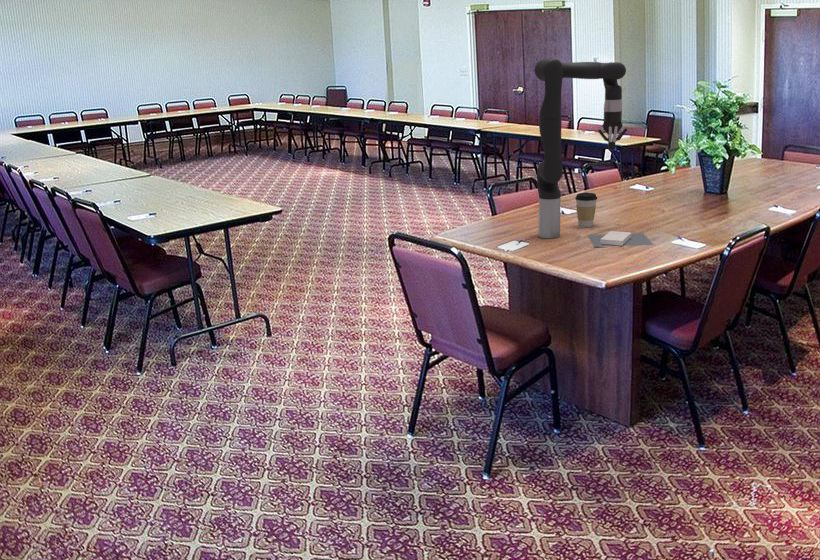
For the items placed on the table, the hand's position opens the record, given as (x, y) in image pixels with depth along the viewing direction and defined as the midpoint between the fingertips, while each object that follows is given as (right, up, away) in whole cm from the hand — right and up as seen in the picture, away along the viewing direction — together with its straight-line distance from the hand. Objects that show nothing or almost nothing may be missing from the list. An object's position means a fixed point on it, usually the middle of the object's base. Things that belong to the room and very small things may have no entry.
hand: (611, 150), depth 340 cm
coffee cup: (-8, -33, +15) cm, 37 cm away
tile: (+2, -37, -9) cm, 38 cm away
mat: (0, -40, -13) cm, 42 cm away
